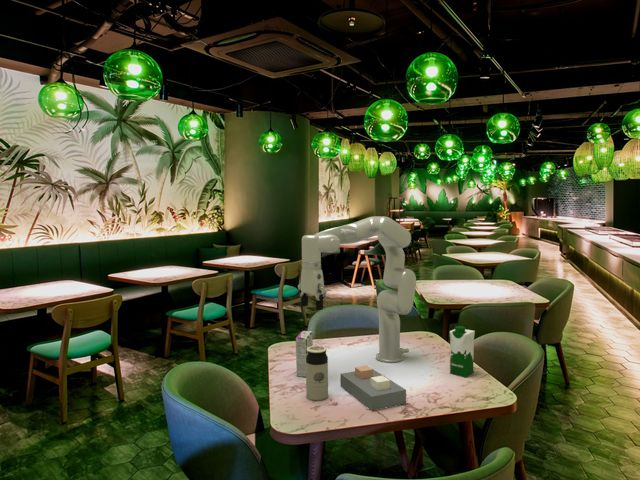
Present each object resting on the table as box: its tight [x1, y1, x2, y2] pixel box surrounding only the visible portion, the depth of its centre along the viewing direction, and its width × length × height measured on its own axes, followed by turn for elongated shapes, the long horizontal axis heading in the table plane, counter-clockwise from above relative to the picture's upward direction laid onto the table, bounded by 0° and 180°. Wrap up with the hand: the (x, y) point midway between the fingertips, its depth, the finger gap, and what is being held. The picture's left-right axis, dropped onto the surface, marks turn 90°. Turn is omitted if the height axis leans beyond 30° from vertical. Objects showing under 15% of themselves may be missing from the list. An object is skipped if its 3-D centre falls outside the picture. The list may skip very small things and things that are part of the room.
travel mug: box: [305, 345, 329, 401], centre depth 166 cm, size 8×8×18 cm
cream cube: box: [371, 375, 391, 391], centre depth 162 cm, size 5×5×5 cm
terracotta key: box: [354, 364, 374, 380], centre depth 173 cm, size 5×5×5 cm
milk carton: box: [449, 325, 476, 378], centre depth 187 cm, size 9×9×20 cm
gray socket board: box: [339, 367, 407, 411], centre depth 167 cm, size 14×24×5 cm, turn 24°
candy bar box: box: [295, 330, 314, 378], centre depth 191 cm, size 11×5×16 cm, turn 168°
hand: (311, 307), depth 182 cm, fingers open, 9 cm apart
